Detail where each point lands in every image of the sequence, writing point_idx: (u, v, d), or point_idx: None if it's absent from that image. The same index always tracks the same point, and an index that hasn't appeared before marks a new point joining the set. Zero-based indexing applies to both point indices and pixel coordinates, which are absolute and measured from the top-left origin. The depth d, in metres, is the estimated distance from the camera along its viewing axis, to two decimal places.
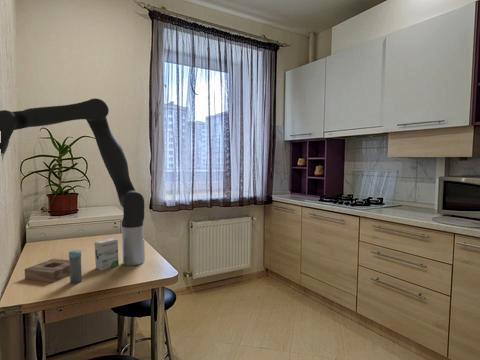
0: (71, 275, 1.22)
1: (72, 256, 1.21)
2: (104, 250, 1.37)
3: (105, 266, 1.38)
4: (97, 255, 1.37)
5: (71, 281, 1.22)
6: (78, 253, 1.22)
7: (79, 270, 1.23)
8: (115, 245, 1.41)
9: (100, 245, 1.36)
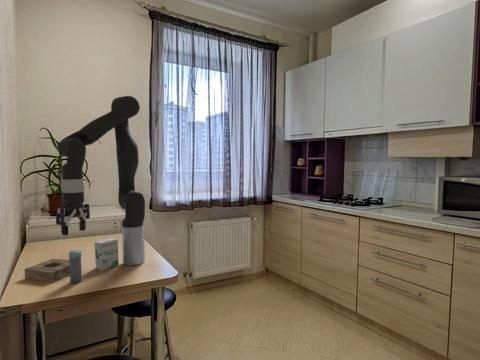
0: (71, 275, 1.22)
1: (72, 256, 1.21)
2: (104, 250, 1.37)
3: (105, 266, 1.38)
4: (97, 255, 1.37)
5: (71, 281, 1.22)
6: (78, 253, 1.22)
7: (79, 270, 1.23)
8: (115, 245, 1.41)
9: (100, 245, 1.36)
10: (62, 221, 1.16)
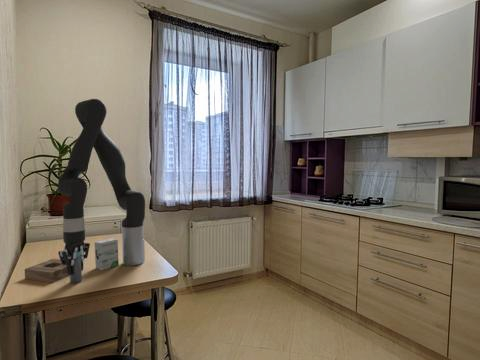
0: (71, 275, 1.22)
1: None
2: (104, 250, 1.37)
3: (105, 266, 1.38)
4: (97, 255, 1.37)
5: (71, 281, 1.22)
6: (78, 253, 1.22)
7: (79, 270, 1.23)
8: (115, 245, 1.41)
9: (100, 245, 1.36)
10: (68, 262, 1.19)
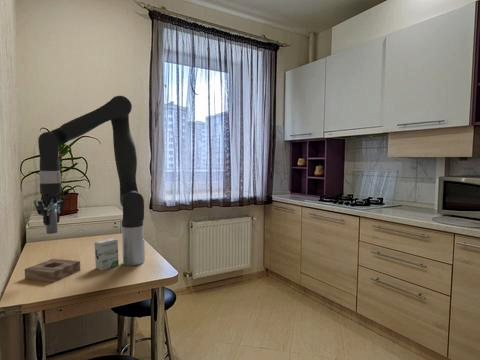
0: (47, 225, 1.28)
1: None
2: (104, 250, 1.37)
3: (105, 266, 1.38)
4: (97, 255, 1.37)
5: (47, 231, 1.28)
6: (54, 205, 1.29)
7: (55, 221, 1.29)
8: (115, 245, 1.41)
9: (100, 245, 1.36)
10: (44, 211, 1.25)
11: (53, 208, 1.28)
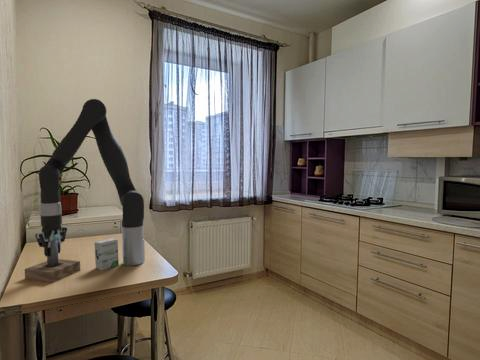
0: (48, 257, 1.29)
1: None
2: (104, 250, 1.37)
3: (105, 266, 1.38)
4: (97, 255, 1.37)
5: (48, 262, 1.30)
6: (55, 236, 1.30)
7: (56, 252, 1.30)
8: (115, 245, 1.41)
9: (100, 245, 1.36)
10: (45, 244, 1.26)
11: (54, 239, 1.30)
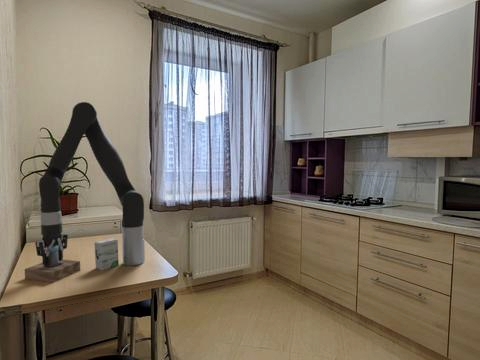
0: None
1: None
2: (104, 250, 1.37)
3: (105, 266, 1.38)
4: (97, 255, 1.37)
5: None
6: (55, 247, 1.30)
7: (56, 263, 1.31)
8: (115, 245, 1.41)
9: (100, 245, 1.36)
10: (43, 253, 1.25)
11: (55, 251, 1.30)
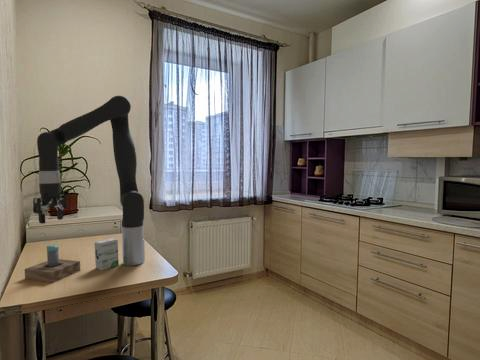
0: None
1: (49, 250, 1.29)
2: (104, 250, 1.37)
3: (105, 266, 1.38)
4: (97, 255, 1.37)
5: None
6: (55, 247, 1.30)
7: (56, 263, 1.31)
8: (115, 245, 1.41)
9: (100, 245, 1.36)
10: (39, 210, 1.24)
11: (55, 251, 1.30)
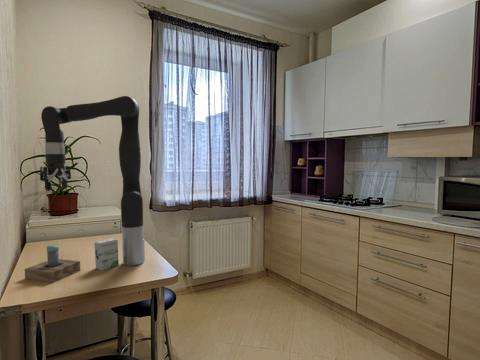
0: None
1: (49, 250, 1.29)
2: (104, 250, 1.37)
3: (105, 266, 1.38)
4: (97, 255, 1.37)
5: None
6: (55, 247, 1.30)
7: (56, 263, 1.31)
8: (115, 245, 1.41)
9: (100, 245, 1.36)
10: (45, 178, 1.34)
11: (55, 251, 1.30)
